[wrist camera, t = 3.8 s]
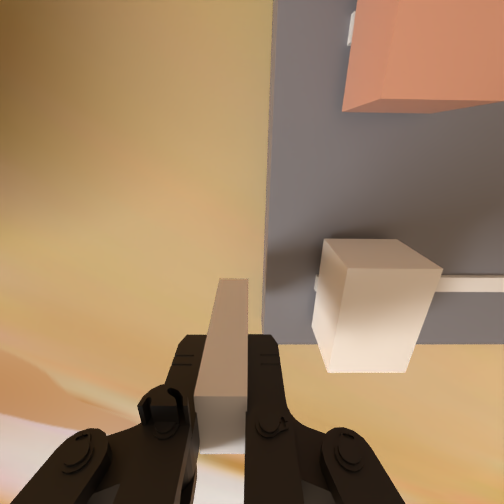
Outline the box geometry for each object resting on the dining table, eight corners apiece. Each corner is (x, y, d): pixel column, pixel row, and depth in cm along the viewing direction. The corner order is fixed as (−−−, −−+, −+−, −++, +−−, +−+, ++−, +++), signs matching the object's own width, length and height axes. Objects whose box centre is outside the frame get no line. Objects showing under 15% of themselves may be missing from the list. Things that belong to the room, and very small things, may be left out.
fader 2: (311, 326, 16) (327, 372, 13) (323, 238, 13) (347, 268, 10) (373, 326, 16) (405, 372, 13) (396, 239, 13) (443, 268, 10)
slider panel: (261, 320, 19) (263, 347, 17) (277, -97, 10) (286, -177, 8) (535, 320, 20) (579, 347, 17) (775, -81, 11) (938, -150, 8)
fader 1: (341, 111, 11) (380, 98, 8) (369, -87, 8) (443, -226, 5) (430, 113, 11) (505, 100, 8) (482, -83, 9) (622, -218, 5)
